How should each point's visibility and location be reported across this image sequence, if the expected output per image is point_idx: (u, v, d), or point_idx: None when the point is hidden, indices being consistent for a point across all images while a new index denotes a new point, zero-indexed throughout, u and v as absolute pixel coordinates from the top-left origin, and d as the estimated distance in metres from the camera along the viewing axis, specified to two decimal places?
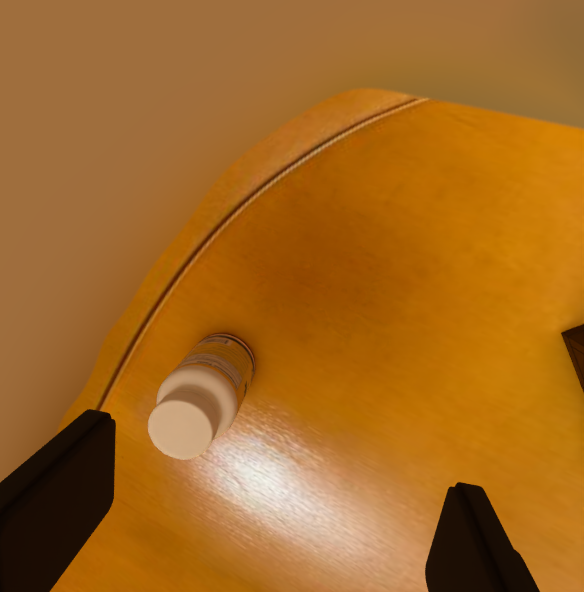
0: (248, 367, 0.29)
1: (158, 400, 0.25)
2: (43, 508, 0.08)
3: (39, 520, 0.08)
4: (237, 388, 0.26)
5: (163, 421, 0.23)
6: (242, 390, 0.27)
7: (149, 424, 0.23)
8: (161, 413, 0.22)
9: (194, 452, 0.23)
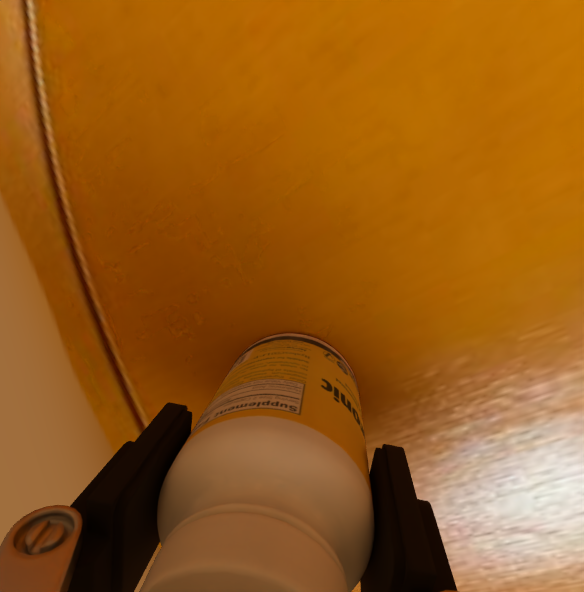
0: (310, 357, 0.13)
1: None
2: (148, 490, 0.09)
3: (145, 500, 0.09)
4: (299, 410, 0.10)
5: None
6: (323, 401, 0.11)
7: None
8: None
9: None
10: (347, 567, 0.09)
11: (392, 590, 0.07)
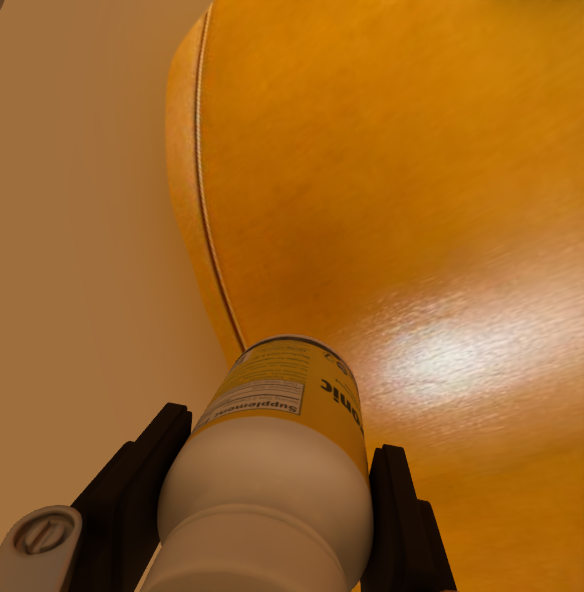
0: (310, 357, 0.13)
1: None
2: (148, 490, 0.09)
3: (145, 500, 0.09)
4: (298, 410, 0.10)
5: None
6: (322, 401, 0.11)
7: None
8: None
9: None
10: (346, 567, 0.09)
11: (392, 590, 0.07)
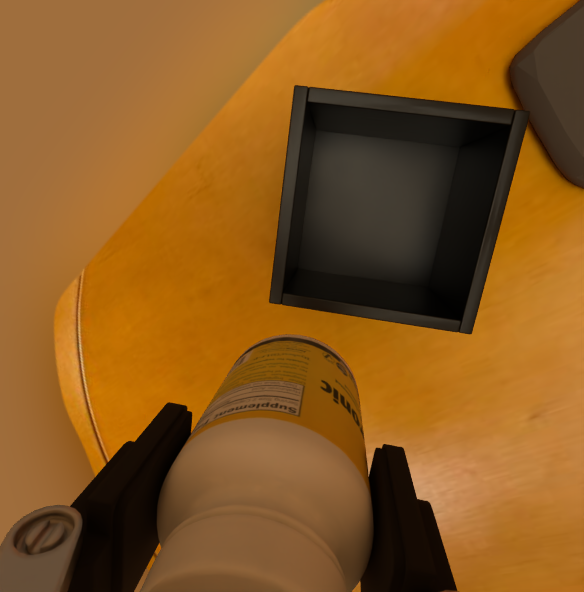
0: (309, 358, 0.13)
1: None
2: (148, 490, 0.09)
3: (145, 501, 0.09)
4: (297, 411, 0.10)
5: None
6: (322, 403, 0.11)
7: None
8: None
9: None
10: (346, 569, 0.09)
11: (392, 590, 0.07)
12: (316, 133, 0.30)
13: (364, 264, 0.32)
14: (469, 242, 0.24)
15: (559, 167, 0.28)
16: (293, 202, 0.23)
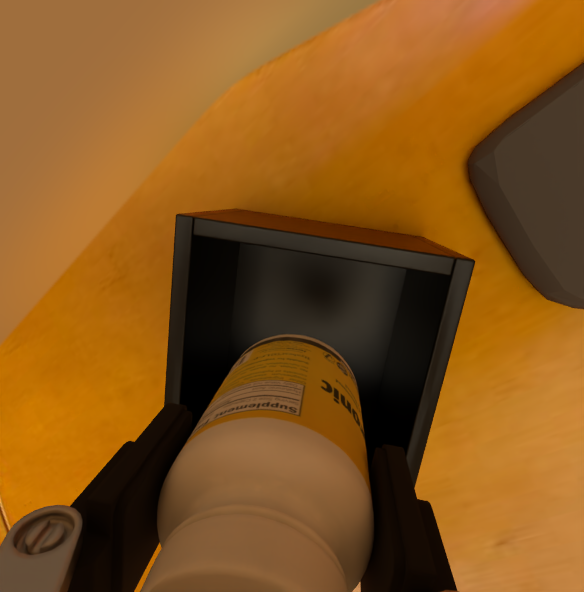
0: (310, 358, 0.13)
1: None
2: (148, 490, 0.09)
3: (145, 500, 0.09)
4: (298, 411, 0.10)
5: None
6: (323, 402, 0.11)
7: None
8: None
9: None
10: (347, 568, 0.09)
11: (392, 590, 0.07)
12: None
13: None
14: (408, 394, 0.19)
15: (527, 278, 0.23)
16: (183, 350, 0.18)
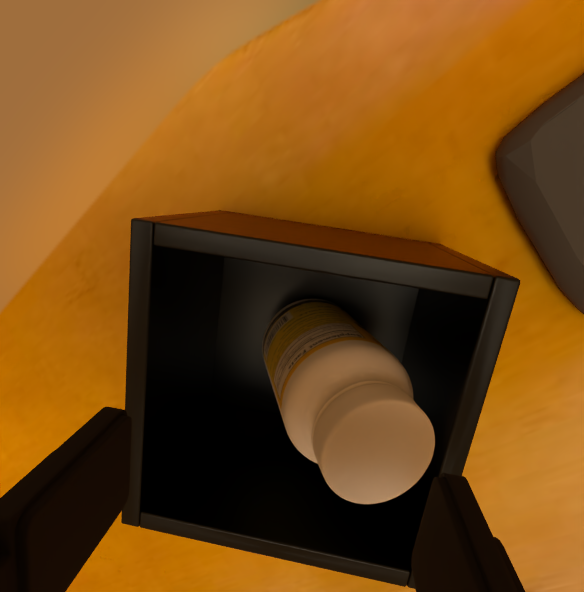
0: (336, 310, 0.19)
1: (309, 456, 0.15)
2: (66, 502, 0.08)
3: (62, 513, 0.08)
4: (362, 336, 0.16)
5: (350, 470, 0.12)
6: (366, 332, 0.17)
7: (341, 494, 0.13)
8: (336, 466, 0.12)
9: (425, 451, 0.13)
10: None
11: None
12: None
13: None
14: None
15: (565, 293, 0.20)
16: (145, 389, 0.14)
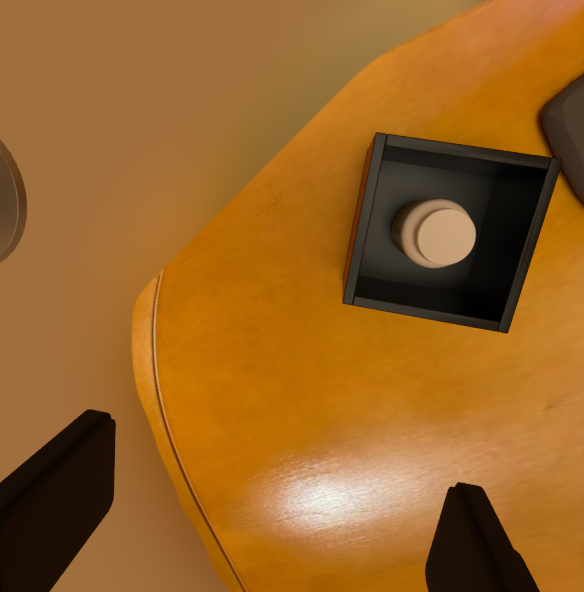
0: None
1: (412, 254, 0.30)
2: (43, 508, 0.08)
3: (39, 520, 0.08)
4: None
5: (431, 243, 0.27)
6: None
7: (425, 255, 0.28)
8: (424, 239, 0.27)
9: (470, 239, 0.27)
10: None
11: None
12: None
13: (409, 272, 0.38)
14: (507, 259, 0.29)
15: (579, 196, 0.34)
16: (368, 223, 0.28)
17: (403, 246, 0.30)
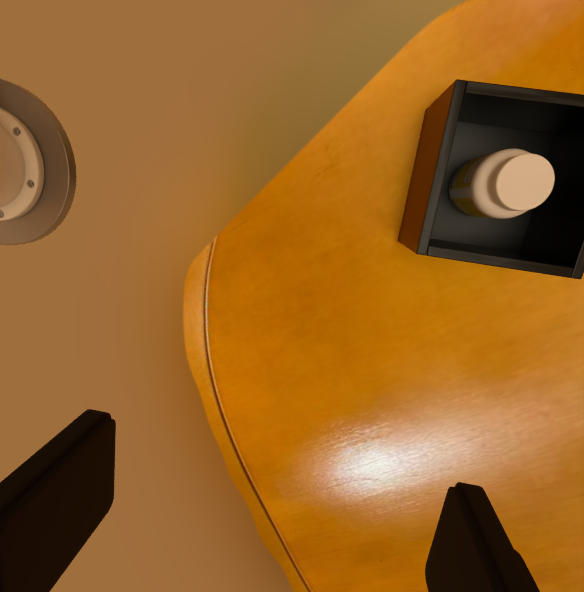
0: None
1: (484, 204, 0.30)
2: (43, 508, 0.08)
3: (39, 520, 0.08)
4: None
5: (509, 188, 0.28)
6: None
7: (504, 201, 0.28)
8: (503, 185, 0.28)
9: (549, 184, 0.27)
10: None
11: None
12: None
13: (466, 232, 0.38)
14: (578, 207, 0.30)
15: None
16: (445, 172, 0.29)
17: (474, 197, 0.31)
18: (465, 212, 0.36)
